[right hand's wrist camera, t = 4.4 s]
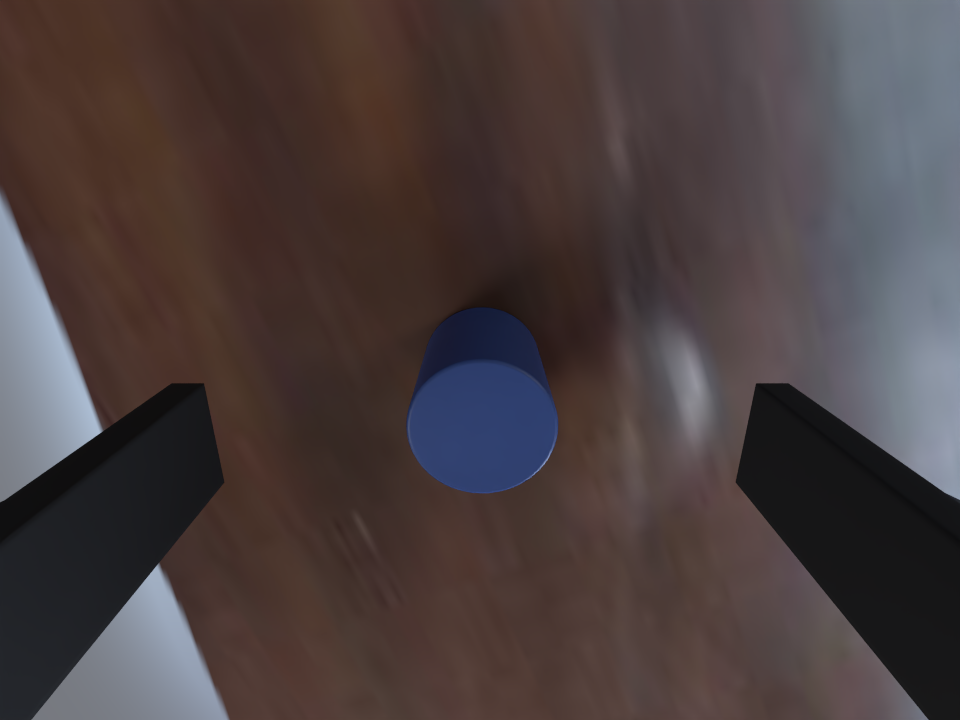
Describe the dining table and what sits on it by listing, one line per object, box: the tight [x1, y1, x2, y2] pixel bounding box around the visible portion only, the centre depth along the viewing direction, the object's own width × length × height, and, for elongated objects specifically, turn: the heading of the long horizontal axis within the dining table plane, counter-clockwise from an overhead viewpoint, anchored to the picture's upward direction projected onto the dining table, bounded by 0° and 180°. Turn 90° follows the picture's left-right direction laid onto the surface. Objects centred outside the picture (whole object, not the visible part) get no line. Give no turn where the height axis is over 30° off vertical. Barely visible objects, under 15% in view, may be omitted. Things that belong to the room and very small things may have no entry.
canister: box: [406, 307, 558, 493], centre depth 14 cm, size 4×4×5 cm
